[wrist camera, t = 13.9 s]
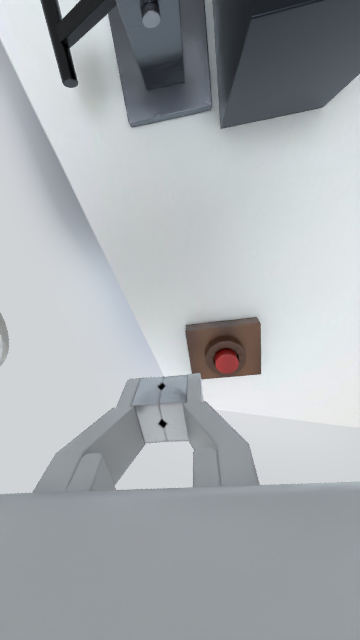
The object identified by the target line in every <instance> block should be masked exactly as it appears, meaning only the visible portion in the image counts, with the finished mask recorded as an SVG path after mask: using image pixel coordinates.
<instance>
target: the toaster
mask: <svg viewBox="0 0 360 640" xmlns="http://www.w3.org/2000/svg"><path fill="white" fill-rule="evenodd" d="M213 14H214V30H215V46H216V62H217V78H218V94H219V109H220V125H221V129H222V128H226V127H231V126H236V125H241V124H245V123H250V122H255V121H260V120H265V119H269V118H274V117H279V116H284V115H288V114H293V113H298V112H303V111H308V110H312V109H317V108H322V107H324V106H325V105H326V104H327V103H328V102H329V101H330V100H331V99H332V98H334V97H335V96H336V95H337V94H338V93H339V92H340V91H341V90H342V89H343V88H344V87H346V86H347V85H348V84H349V83H350V82H351V81H352V80H353V79H354V78H355V77H356V76H358V75H359V74H360V0H213Z"/></svg>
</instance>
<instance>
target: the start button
mask: <svg viewBox="0 0 360 640" xmlns="http://www.w3.org/2000/svg"><path fill="white" fill-rule="evenodd" d="M215 365H216V368H217V370H218V371H220V372H222V373H226V374H227V373H232V372H234V371H235V370H236V369H237V368H238V365H239V361H238V358H237V355H236V353H235V352H234V351H233V350H231V349H222V350H220V351H218V352H217V353H216V355H215Z"/></svg>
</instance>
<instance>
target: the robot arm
mask: <svg viewBox="0 0 360 640" xmlns="http://www.w3.org/2000/svg"><path fill="white" fill-rule="evenodd" d="M166 441H167V442H169V441H189V443H190V444H191V446H192V448H193V449H194V452H193V488H167V489H165V488H164V489H135V490H116V489H115V484H116V483H117V482H118V480H119V479H120V478H121V476H122V475H123V474H124V472H125V471H126V469H127V468H128V467H129V465H130V464H131V462H133V460H134V459H135V458H136V456H137V455H138V453H139V452H140V451H141V449H142V448H143V447H144V445H145V443H154V442H155V443H156V442H166ZM0 640H360V482H340V483H339V482H338V483H309V484H280V485H260V484H259V481H258V477H257V473H256V469H255V465H254V462H253V458H252V454H251V450H250V447H249V444H248V443H247V442H246V441H245V440H244V439H243V438H242V437H241V436H240V435H239V434H238V433H237V432H236V431H235V430H234V429H233V428H232V427H231V426H230V425H229V424H228V423H227V422H226V421H225V420H224V419H223V418H222V417H221V416H220V415H219V414H218V413H217V412H216V411H215V410H214V409H213V408H212V407H211V406H210V405H209V404H208V403H207V402H206V401H204V398H203V390H202V381H201V374H200V373H195V374H188V375H179V376H168V377H150V378H136V379H129V380H128V381H127V383H126V385H125V388H124V390H123V392H122V395H121V397H120V400H119V402H118V404H117V407H116V408H112V409H111V410H109V411H108V412H107V413H106V414H105V415H103V416H102V417H101V418H99V419H98V420H97V421H96V422H94V423H93V424H92V425H91V426H90V427H88V428H87V429H86V430H85V431H83V432H82V433H81V434H80V435H79V436H77V437H76V438H75V439H73V440H72V441H71V442H70V443H68V444H67V445H66V446H65V447H63V448H62V449H61V450H60V451H58V452H57V453H56V454H55V456H54V458H53V459H52V461H51V462H50V464H49V466H48V467H47V469H46V471H45V472H44V474H43V476H42V478H41V479H40V481H39V483H38V484H37V486H36V488H35V489H34V491H33V493H17V494H0Z"/></svg>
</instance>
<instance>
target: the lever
mask: <svg viewBox="0 0 360 640" xmlns="http://www.w3.org/2000/svg"><path fill="white" fill-rule="evenodd" d="M41 4H42V8H43V11H44V15H45V19H46V23H47V26H48V30H49V34H50V38H51V42H52V45H53V49H54V53H55V57H56V60H57V64H58V68H59V72H60V75H61V79H62V83H63V85H64V86H66V87H69V88H73V87H76V86H77V85H78V81H77V77H76V72H75V68H74V64H73V60H72V56H71V52H70V48H71V47H72V46H73V45H74V44H75V43H76V42H77V41H78V40H79V39H80V38H82V37H83V36H84V35H85V34H86V33H87V32H88V31H89V30H90V29H91V28H92V27H94V26H95V25H96V24H97V23H98V22H99V21H100V20H101V19H102V18H103V17H104V16H106V15H107V14H108V13H109V12H110V11H111V10H112V9H113V8H114V7H115V6H117V3H116V0H80V1H79V2H78V3H77V4H76V6H75V7H74V8H73V9H72V10H71V11H70V12H69V13H68V14H67V15H66V16H65V17H64V18H63V19H62V15H61V11H60V7H59V3H58V0H41Z"/></svg>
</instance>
